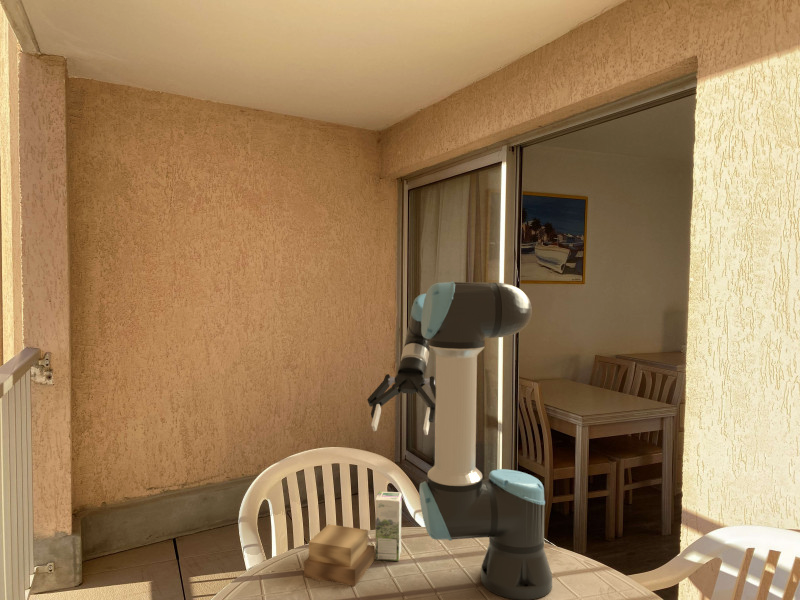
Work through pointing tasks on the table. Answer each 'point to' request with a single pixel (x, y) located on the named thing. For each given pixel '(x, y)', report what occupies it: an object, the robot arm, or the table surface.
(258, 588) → the table surface
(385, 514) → the syrup box
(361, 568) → the walnut block
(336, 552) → the oak block
